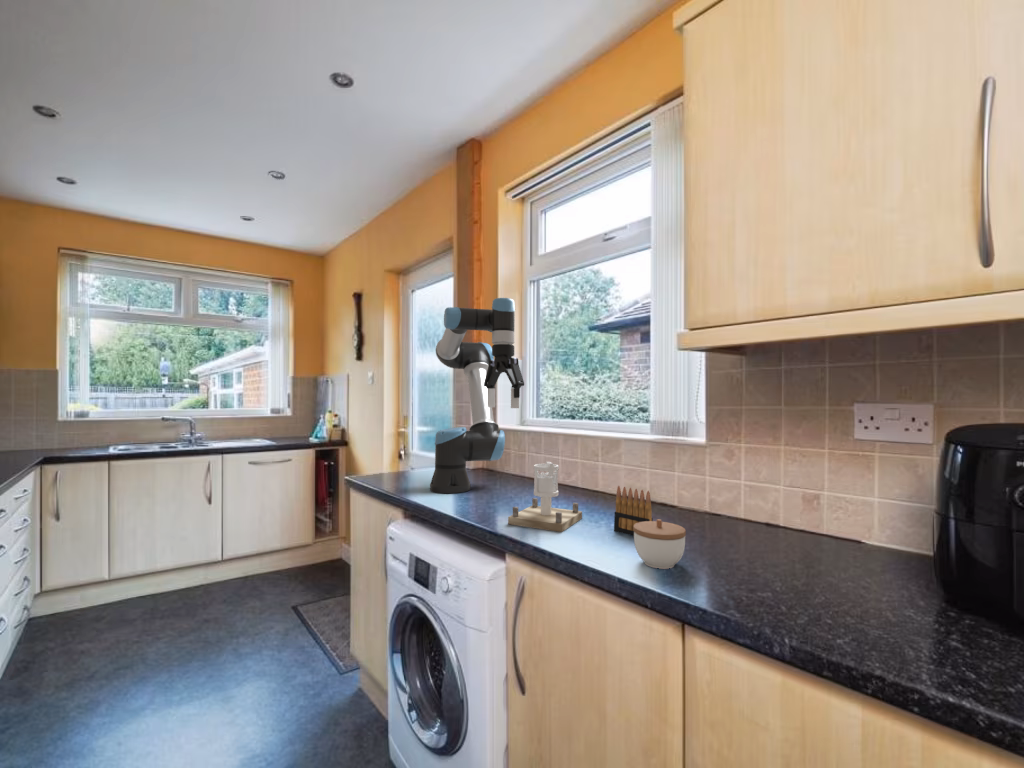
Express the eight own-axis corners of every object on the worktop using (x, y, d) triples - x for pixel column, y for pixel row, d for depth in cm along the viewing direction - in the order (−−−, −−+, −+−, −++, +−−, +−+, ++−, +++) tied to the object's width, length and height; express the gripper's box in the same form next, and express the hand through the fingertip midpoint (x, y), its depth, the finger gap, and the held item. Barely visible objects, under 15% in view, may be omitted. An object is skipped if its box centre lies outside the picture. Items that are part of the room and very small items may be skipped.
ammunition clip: (653, 538, 119) (653, 490, 119) (649, 539, 118) (649, 491, 118) (617, 529, 127) (617, 484, 127) (613, 530, 126) (613, 485, 126)
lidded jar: (694, 564, 101) (694, 519, 101) (671, 577, 93) (671, 529, 94) (648, 552, 108) (648, 511, 109) (623, 563, 101) (623, 519, 101)
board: (532, 511, 146) (532, 497, 146) (582, 518, 138) (582, 502, 138) (508, 524, 131) (508, 507, 132) (561, 532, 124) (561, 514, 124)
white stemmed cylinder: (540, 518, 130) (540, 463, 131) (529, 512, 137) (529, 460, 137) (562, 515, 133) (562, 462, 133) (551, 510, 140) (551, 459, 140)
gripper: (535, 342, 151) (535, 408, 150) (491, 348, 171) (491, 406, 171) (516, 340, 147) (516, 408, 146) (474, 346, 167) (473, 407, 166)
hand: (502, 407), depth 158 cm, fingers open, 13 cm apart
